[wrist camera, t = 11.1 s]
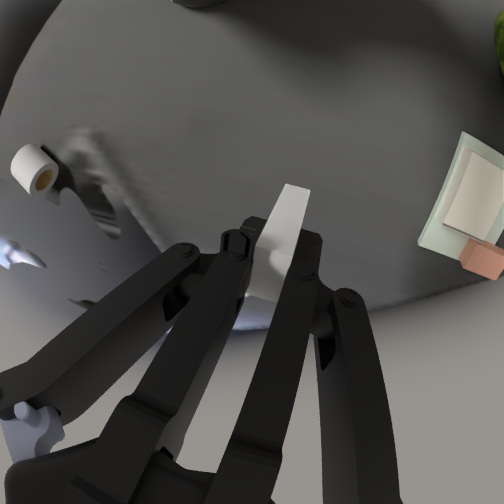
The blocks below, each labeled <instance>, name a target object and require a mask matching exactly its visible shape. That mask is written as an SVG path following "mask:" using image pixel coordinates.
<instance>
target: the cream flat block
mask: <svg viewBox="0 0 504 504" xmlns="http://www.w3.org/2000/svg"><path fill="white" fill-rule="evenodd" d="M503 202H504V170H503V169H502V168H500V167H499V166H497V165H495V164H494V163H492V162H491V161H489V160H487V159H486V158H484V157H482V156H481V155H479V154H477V153H476V152H474V151H472V150H470V149H468V148H467V147H465V146H464V148H463V151H462V154H461V157H460V160H459V163H458V165H457V168H456V171H455V173H454V176H453V179H452V181H451V184H450V186H449V188H448V191H447V193H446V196H445V198H444V200H443V202H442V205H441V207H440V209H439V211H438V213H437V218H438V219H439V221H440V223H441V225H442V226H444V227H447V228H449V229H452V230H454V231H456V232H459V233H461V234H463V235H465V236H468V237H470V238H472V239H474V240H477V241H479V242H481V243H483V242H484V240H485V238H486V236H487V234H488V232H489V230H490V228H491V227H492V225H493V223H494V221H495V219H496V217H497V215H498V213H499V210H500V208H501V206H502V204H503Z"/></svg>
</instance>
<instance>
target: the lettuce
mask: <svg viewBox="0 0 504 504" xmlns="http://www.w3.org/2000/svg"><path fill="white" fill-rule="evenodd" d="M494 41H495V46H496V52H497V57H498V60H499V63H500V66H501V69H502V72H503V76H504V10H503V11H501V12H499V15H498V17H497V19H496V21H495V24H494Z"/></svg>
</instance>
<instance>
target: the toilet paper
mask: <svg viewBox="0 0 504 504" xmlns="http://www.w3.org/2000/svg"><path fill="white" fill-rule="evenodd" d="M58 171H59V168H58V165H57V164H56V163H55V162H54V161H53V160H52V159H51V158H50V157H49V156H48V155H47V154H46V153H45V152H44V151H43V150H42V149H41V148H40V147H38V146H37V145H36V144H34V143H30V144H27V145H25V146H24V147H22V148H21V149H20V150H19V151H18V152H17V154H16V155H15V157H14V159H13V161H12V164H11V172H12V175H13V176H14V177H15V178H16V179H17V180H18V182H19V183H20V184H21V185H22V186H23V187H24V188H25V189H26V191H27V192H28V193H29V194H30V195H31V196H32V197H40V196H42V195H43V194H45V193H46V192H47V191H48V190H49V189H50V188H51V187H52V185H53V184H54V182H55V180H56V178H57V176H58Z"/></svg>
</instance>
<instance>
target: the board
mask: <svg viewBox="0 0 504 504" xmlns="http://www.w3.org/2000/svg"><path fill="white" fill-rule="evenodd" d="M464 146H465V147H467V148H468V149H470V150H472V151H474V152H476V153H477V154H479V155H481V156H482V157H484V158H486V159H487V160H489V161H491V162H492V163H494V164H495V165H497V166H499V167H500V168H502V169H503V170H504V156H503V155H501V154H500V153H498V152H497V151H495V150H494V149H492V148H491V147H489V146H487V145H486V144H484V143H483V142H481V141H479V140H478V139H476V138H474V137H472V136H471V135H469V134H467V133H465V132H463V131H462V134H461V137H460V140H459V143H458V146H457V149H456V152H455V155H454V158H453V161H452V163H451V166H450V169H449V171H448V174H447V177H446V179H445V182H444V184H443V187H442V189H441V192H440V194H439V196H438V199H437V201H436V203H435V206H434V208H433V210H432V212H431V214H430V217H429V219H428V221H427V223H426V225H425V227H424V229H423V231H422V233H421V235H420V237H419V239H418V241H417V242H418V245H419V246H421V247H424V248H427V249H430V250H432V251H435V252H438V253H440V254H443V255H446V256H448V257H451V258H454V259H456V260H459V258H458V257H459V256H460V254H461V252H462V250H463V249H464V247H465V245H466V243H467V242H468V240H469V238H470V237H468V236H465V235H463V234H461V233H459V232H456V231H454V230H452V229H449V228H447V227H444V226H442V225H441V223H440V221H439V219H438V218H437V213H438V211H439V209H440V207H441V205H442V202H443V200H444V198H445V196H446V193H447V191H448V188H449V186H450V184H451V181H452V179H453V176H454V173H455V171H456V168H457V165H458V163H459V160H460V157H461V154H462V151H463V148H464ZM503 229H504V202H503V204H502V206H501V208H500V210H499V213H498V215H497V217H496V219H495V221H494V223H493V225H492V227H491V228H490V230H489V232H488V234H487V236H486V238H485V241H487V242H489V243H491V244H493V245H495V244H496V242H497V240H498V238H499V236H500V235H501V233H502V231H503ZM459 261H460V260H459Z"/></svg>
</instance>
